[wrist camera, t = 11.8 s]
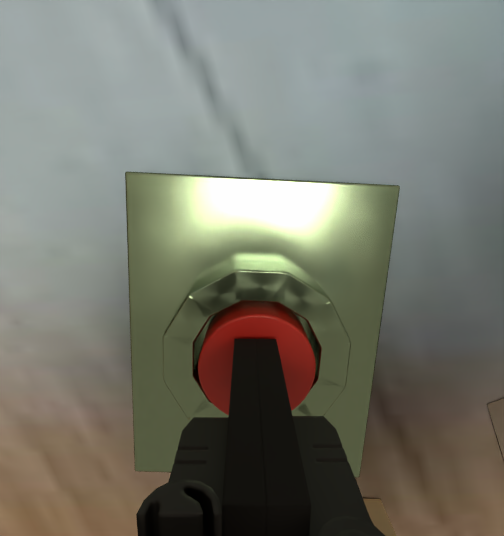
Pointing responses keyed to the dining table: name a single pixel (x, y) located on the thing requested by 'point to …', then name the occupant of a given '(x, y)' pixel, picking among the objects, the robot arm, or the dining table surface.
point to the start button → (255, 327)
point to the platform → (498, 420)
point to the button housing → (253, 290)
